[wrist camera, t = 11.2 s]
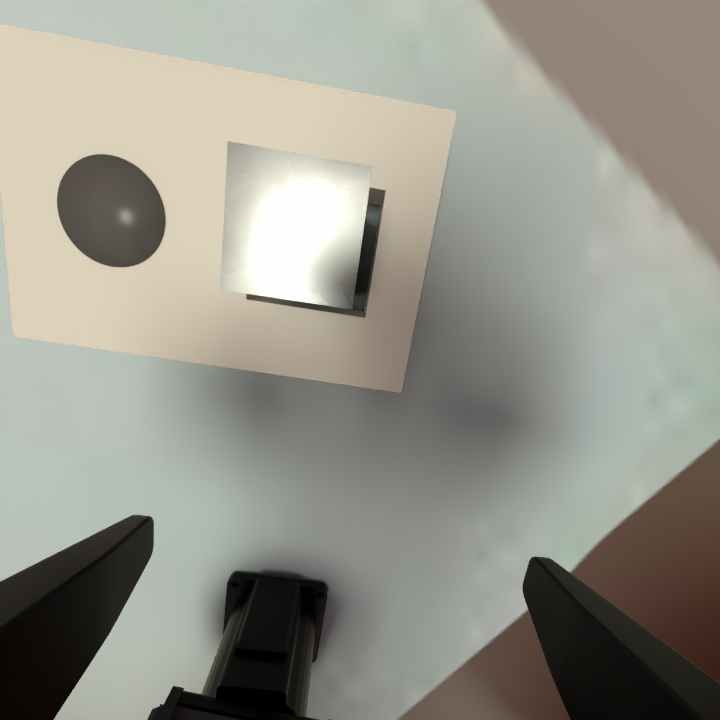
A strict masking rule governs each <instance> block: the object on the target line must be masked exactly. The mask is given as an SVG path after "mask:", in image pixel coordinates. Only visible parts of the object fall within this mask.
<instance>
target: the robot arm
mask: <svg viewBox="0 0 720 720" xmlns="http://www.w3.org/2000/svg"><path fill="white" fill-rule="evenodd" d="M153 545H154V522H153V518H152V517H150V516H143V515H132V516H130V517H128V518H126V519H124V520H122V521H120V522H118V523H116V524H114V525H112V526H110V527H108V528H106V529H104V530H102V531H100V532H98V533H96V534H94V535H92V536H90V537H88V538H86V539H84V540H82V541H80V542H78V543H76V544H74V545H72V546H70V547H68V548H66V549H64V550H62V551H60V552H58V553H56V554H54V555H52V556H50V557H48V558H46V559H44V560H42V561H40V562H38V563H36V564H34V565H32V566H30V567H28V568H26V569H24V570H22V571H20V572H18V573H16V574H14V575H13V576H11V577H9V578H7V579H5V580H3V581H1V582H0V720H53V719H54V718H55V716H56V715H57V713H58V712H59V710H60V709H61V707H62V706H63V704H64V703H65V701H66V699H67V698H68V696H69V695H70V693H71V692H72V690H73V689H74V687H75V686H76V684H77V683H78V681H79V680H80V678H81V676H82V675H83V673H84V672H85V670H86V669H87V667H88V666H89V664H90V663H91V661H92V660H93V658H94V657H95V655H96V654H97V652H98V650H99V649H100V647H101V646H102V644H103V643H104V641H105V639H106V638H107V636H108V635H109V633H110V631H111V629H112V628H113V626H114V624H115V622H116V621H117V619H118V617H119V615H120V613H121V611H122V610H123V608H124V606H125V604H126V602H127V600H128V598H129V597H130V595H131V593H132V591H133V589H134V587H135V585H136V584H137V582H138V580H139V578H140V576H141V574H142V572H143V571H144V569H145V567H146V565H147V563H148V561H149V559H150V557H151V555H152V552H153ZM318 591H321V592H318ZM327 592H328V587H327V586H326V585H325V584H324V583H319V582H310V581H301V580H293V579H284V578H275V577H267V576H258V575H250V574H241V573H234V574H232V575H231V576H230V578H229V580H228V583H227V593H226V606H225V618H224V631H223V637H222V640H221V643H220V645H219V648H218V651H217V653H216V656H215V659H214V662H213V664H212V667H211V670H210V672H209V675H208V678H207V680H206V683H205V686H204V689H203V691H202V694H197V693H192V692H187V691H183V690H184V688H181V687H176V686H173V687H172V689H171V691H170V693H169V695H168V697H167V699H166V701H165V703H164V705H162V704H160V706H159V707H157V708H155V709H152V711H151V713H150V715H149V718H148V720H318V719H313V718H308V717H306V710H307V701H308V693H309V684H310V675H311V666H312V663H313V662H315V661H316V659H317V653H318V647H319V641H320V635H321V629H322V623H323V617H324V612H325V606H326V600H327ZM523 594H524V598H525V601H526V604H527V607H528V609H529V612H530V615H531V618H532V621H533V624H534V627H535V630H536V633H537V636H538V638H539V642H540V644H541V647H542V650H543V653H544V656H545V659H546V662H547V665H548V667H549V670H550V673H551V675H552V677H553V680H554V682H555V684H556V687H557V689H558V691H559V694H560V696H561V699H562V701H563V703H564V706H565V708H566V710H567V713H568V715H569V717H570V719H571V720H720V683H718V682H717V681H716V680H714V679H713V678H711V677H710V676H709V675H708V674H706V673H705V672H703V671H702V670H701V669H699V668H698V667H697V666H695V665H694V664H692V663H691V662H690V661H689V660H687V659H686V658H685V657H683V656H682V655H680V654H679V653H678V652H676V651H675V650H674V649H672V648H671V647H669V646H668V645H667V644H666V643H664V642H663V641H661V640H660V639H658V638H657V637H656V636H655V635H653V634H652V633H651V632H649V631H648V630H646V629H645V628H644V627H642V626H641V625H640V624H638V623H637V622H636V621H634V620H633V619H631V618H630V617H629V616H627V615H626V614H625V613H624V612H622V611H621V610H619V609H618V608H617V607H615V606H614V605H613V604H611V603H610V602H609V601H607V600H606V599H604V598H603V597H602V596H600V595H599V594H597V593H596V592H595V591H593V590H592V589H591V588H590V587H588V586H587V585H585V584H584V583H583V582H581V581H580V580H579V579H577V578H576V577H575V576H573V575H572V574H571V573H569V572H568V571H567V570H565V569H564V568H562V567H561V566H560V565H558V564H557V563H556V562H554V561H553V560H552V559H550V558H545V557H532V558H531V559H530V561H529V564H528V568H527V571H526V574H525V578H524V581H523ZM328 720H329V719H328Z"/></svg>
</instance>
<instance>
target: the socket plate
mask: <svg viewBox="0 0 720 720" xmlns="http://www.w3.org/2000/svg"><path fill="white" fill-rule="evenodd" d="M456 114H457V111H454V110H448V109H443V108H438V107H433V106H427V105H422V104H417V103H412V102H406V101H401V100H396V99H391V98H385V97H380V96H375V95H370V94H365V93H359V92H354V91H349V90H344V89H338V88H333V87H328V86H323V85H317V84H312V83H307V82H302V81H296V80H291V79H286V78H281V77H275V76H270V75H265V74H260V73H255V72H249V71H244V70H239V69H234V68H228V67H223V66H218V65H213V64H207V63H202V62H197V61H192V60H186V59H181V58H176V57H171V56H166V55H160V54H155V53H150V52H145V51H139V50H134V49H129V48H124V47H118V46H113V45H108V44H103V43H97V42H92V41H87V40H82V39H77V38H71V37H66V36H61V35H56V34H50V33H45V32H40V31H35V30H29V29H24V28H19V27H14V26H8V25H3V24H0V189H1V201H2V213H3V224H4V236H5V247H6V259H7V270H8V282H9V293H10V305H11V317H12V328H13V336H14V337H21V338H28V339H35V340H42V341H49V342H55V343H62V344H69V345H76V346H83V347H90V348H96V349H103V350H110V351H117V352H124V353H131V354H137V355H144V356H151V357H158V358H165V359H172V360H179V361H185V362H192V363H199V364H206V365H213V366H220V367H226V368H233V369H240V370H247V371H254V372H261V373H267V374H274V375H281V376H288V377H295V378H302V379H309V380H315V381H322V382H329V383H336V384H343V385H350V386H356V387H363V388H370V389H377V390H384V391H391V392H397V393H402V387H403V382H404V377H405V372H406V367H407V362H408V357H409V352H410V347H411V342H412V337H413V332H414V327H415V322H416V316H417V311H418V306H419V301H420V296H421V291H422V286H423V281H424V276H425V271H426V266H427V261H428V256H429V251H430V246H431V240H432V235H433V230H434V225H435V220H436V215H437V210H438V205H439V200H440V195H441V190H442V185H443V180H444V175H445V169H446V164H447V159H448V154H449V149H450V144H451V139H452V134H453V129H454V124H455V119H456ZM228 141H230V142H236V143H242V144H247V145H253V146H259V147H265V148H270V149H276V150H282V151H288V152H293V153H299V154H305V155H311V156H317V157H322V158H328V159H334V160H340V161H345V162H351V163H357V164H363V165H368V166H373V168H372V175H371V182H370V189H369V196H368V203H369V204H375V205H381V206H380V212H379V219H378V225H377V231H376V237H375V244H374V250H373V256H372V262H371V269H370V275H369V281H368V287H367V294H366V300H365V306H364V312H363V311H357V310H350V309H344V308H338V307H331V306H325V305H318V304H312V303H306V302H299V301H292V300H286V299H279V298H272V297H266V296H259V295H253V294H246V293H239V292H233V291H226V290H220V281H221V262H222V243H223V223H224V204H225V184H226V165H227V146H228Z"/></svg>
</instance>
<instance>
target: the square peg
mask: <svg viewBox="0 0 720 720" xmlns="http://www.w3.org/2000/svg"><path fill="white" fill-rule="evenodd" d="M372 168H373V166H368V165H363V164H357V163H351V162H345V161H340V160H334V159H328V158H322V157H317V156H311V155H305V154H299V153H293V152H288V151H282V150H276V149H270V148H265V147H259V146H253V145H247V144H242V143H236V142H230V141H228V146H227V165H226V184H225V204H224V223H223V243H222V262H221V281H220V290H226V291H233V292H239V293H246V294H253V295H259V296H266V297H272V298H279V299H286V300H292V301H299V302H306V303H312V304H319V305H326V306H332V307H339V308H345V309H352V307H353V300H354V293H355V286H356V279H357V272H358V265H359V258H360V251H361V245H362V238H363V231H364V224H365V217H366V210H367V203H368V196H369V189H370V182H371V175H372Z"/></svg>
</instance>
